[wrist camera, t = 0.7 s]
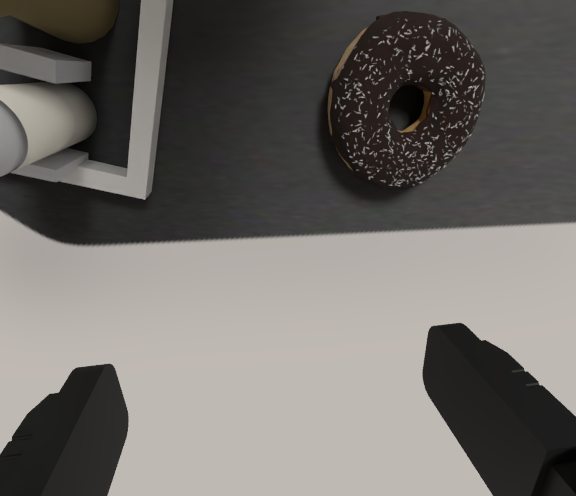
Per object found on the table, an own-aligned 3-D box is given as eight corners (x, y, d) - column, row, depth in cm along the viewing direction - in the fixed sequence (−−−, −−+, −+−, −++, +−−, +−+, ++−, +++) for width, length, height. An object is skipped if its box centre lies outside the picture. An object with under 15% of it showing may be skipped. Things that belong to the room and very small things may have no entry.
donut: (481, 20, 25) (520, 12, 21) (443, 182, 30) (469, 197, 27) (329, 12, 24) (344, 2, 20) (317, 182, 29) (327, 197, 26)
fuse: (34, 73, 23) (-95, 76, 14) (98, 90, 24) (13, 103, 15) (36, 133, 25) (-79, 169, 16) (96, 147, 26) (18, 189, 17)
